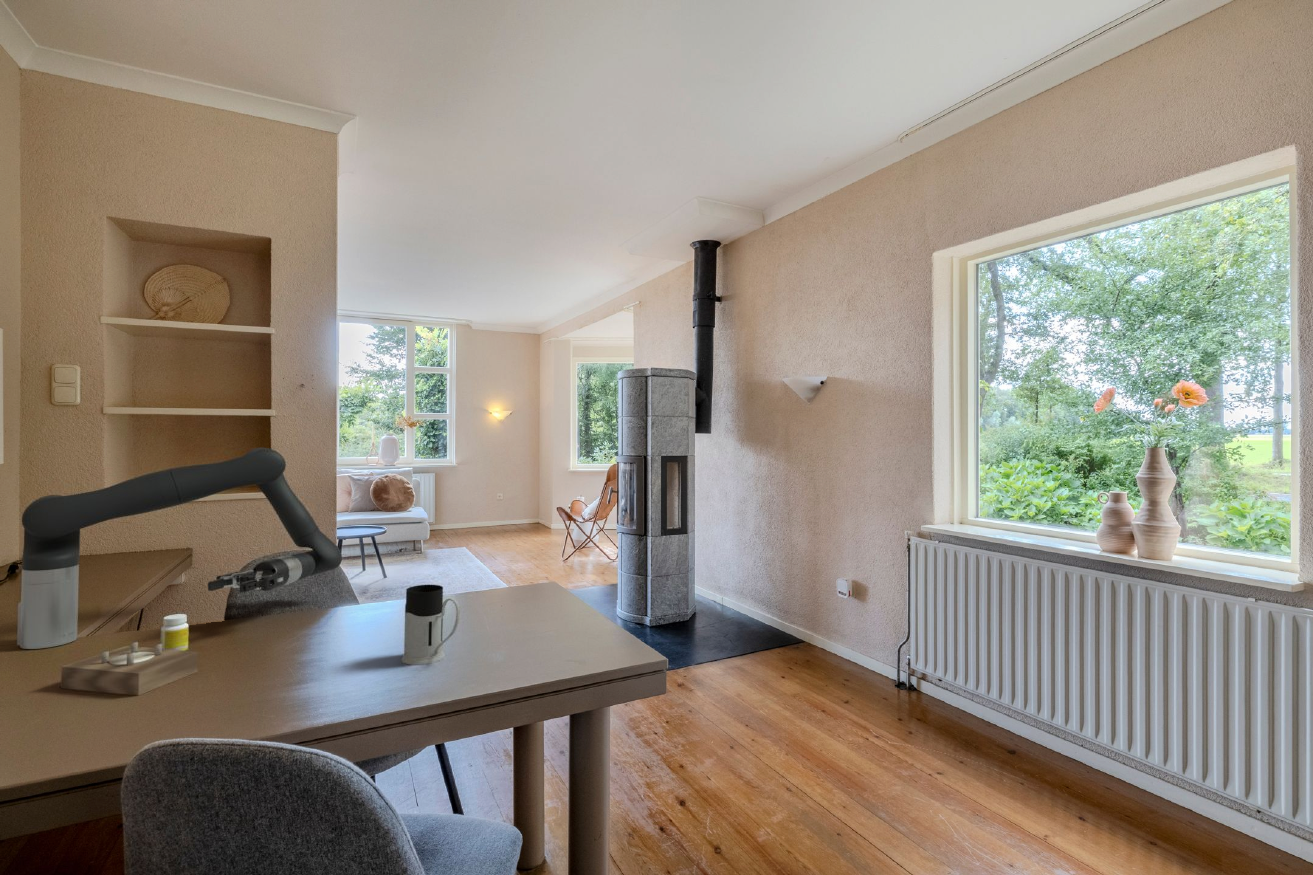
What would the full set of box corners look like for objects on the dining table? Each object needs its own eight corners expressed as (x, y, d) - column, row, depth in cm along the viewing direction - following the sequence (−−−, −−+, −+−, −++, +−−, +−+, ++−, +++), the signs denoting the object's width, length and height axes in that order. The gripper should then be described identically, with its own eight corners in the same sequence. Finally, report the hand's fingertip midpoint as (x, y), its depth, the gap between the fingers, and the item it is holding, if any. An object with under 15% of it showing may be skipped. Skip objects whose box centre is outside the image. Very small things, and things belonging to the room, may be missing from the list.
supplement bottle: (193, 653, 135) (194, 614, 135) (170, 660, 131) (171, 620, 131) (178, 650, 137) (179, 612, 137) (154, 657, 132) (155, 617, 132)
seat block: (61, 687, 115) (61, 655, 116) (125, 665, 127) (126, 636, 127) (138, 695, 113) (139, 662, 113) (197, 671, 125) (198, 641, 125)
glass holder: (424, 648, 141) (425, 582, 141) (472, 658, 134) (473, 589, 134) (392, 660, 133) (394, 590, 133) (442, 672, 126) (443, 598, 127)
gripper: (253, 557, 163) (198, 570, 147) (302, 558, 161) (251, 572, 145) (253, 585, 163) (198, 601, 147) (302, 587, 161) (251, 604, 145)
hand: (225, 587), depth 146 cm, fingers open, 8 cm apart
